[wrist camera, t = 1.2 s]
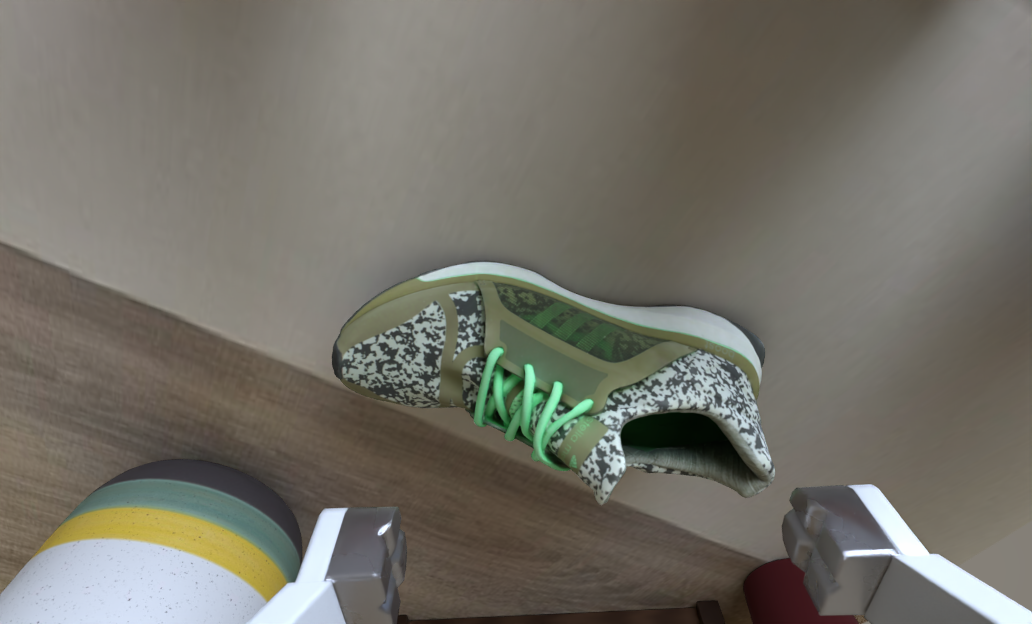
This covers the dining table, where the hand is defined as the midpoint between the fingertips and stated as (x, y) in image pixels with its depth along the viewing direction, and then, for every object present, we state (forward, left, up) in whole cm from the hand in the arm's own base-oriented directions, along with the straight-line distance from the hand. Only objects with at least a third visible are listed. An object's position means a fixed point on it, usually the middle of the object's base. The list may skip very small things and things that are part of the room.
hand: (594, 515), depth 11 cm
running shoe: (0, +10, -23) cm, 25 cm away
